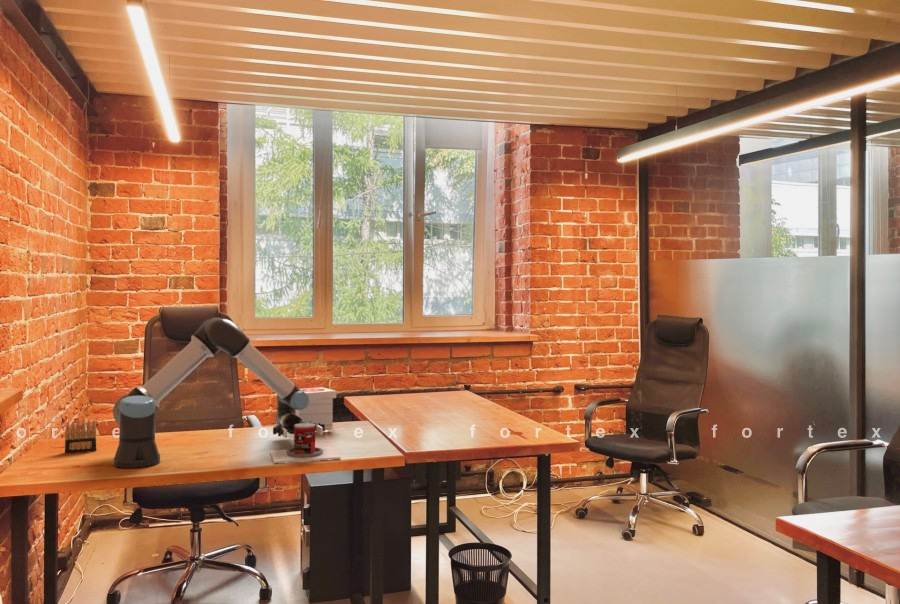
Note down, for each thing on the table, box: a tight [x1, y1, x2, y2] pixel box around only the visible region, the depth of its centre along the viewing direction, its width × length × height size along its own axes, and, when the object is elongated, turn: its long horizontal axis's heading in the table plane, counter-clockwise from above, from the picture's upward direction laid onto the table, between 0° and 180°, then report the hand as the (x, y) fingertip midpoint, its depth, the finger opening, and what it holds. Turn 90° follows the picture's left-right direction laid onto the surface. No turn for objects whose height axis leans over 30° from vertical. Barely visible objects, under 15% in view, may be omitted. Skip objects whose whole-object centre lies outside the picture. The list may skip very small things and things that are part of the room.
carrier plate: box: [269, 446, 342, 465], centre depth 258 cm, size 24×18×2 cm
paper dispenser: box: [295, 387, 337, 430], centre depth 317 cm, size 19×30×18 cm, turn 15°
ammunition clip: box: [64, 419, 97, 454], centre depth 262 cm, size 11×2×12 cm, turn 118°
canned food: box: [293, 423, 316, 454], centre depth 258 cm, size 8×8×11 cm
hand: (304, 432), depth 260 cm, fingers open, 13 cm apart
